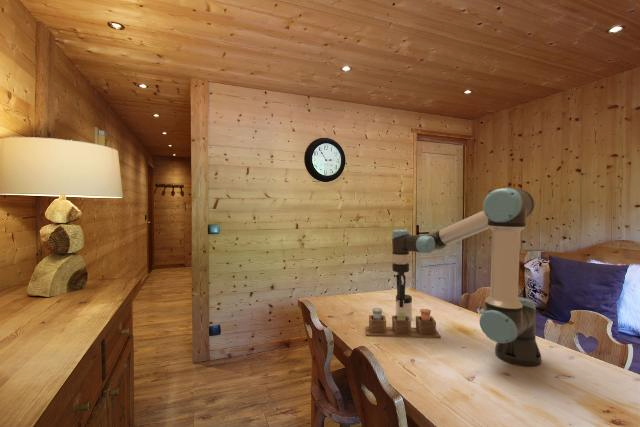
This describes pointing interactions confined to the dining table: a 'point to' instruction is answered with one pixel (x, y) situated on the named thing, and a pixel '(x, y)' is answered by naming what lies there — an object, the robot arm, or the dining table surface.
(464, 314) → the dining table surface
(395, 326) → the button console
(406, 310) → the jar
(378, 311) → the pale grey canister
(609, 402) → the dining table surface
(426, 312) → the terracotta plunger
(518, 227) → the robot arm
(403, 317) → the sage plunger
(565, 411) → the dining table surface
